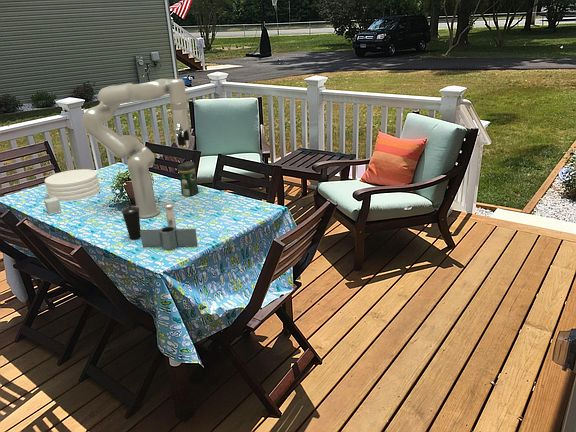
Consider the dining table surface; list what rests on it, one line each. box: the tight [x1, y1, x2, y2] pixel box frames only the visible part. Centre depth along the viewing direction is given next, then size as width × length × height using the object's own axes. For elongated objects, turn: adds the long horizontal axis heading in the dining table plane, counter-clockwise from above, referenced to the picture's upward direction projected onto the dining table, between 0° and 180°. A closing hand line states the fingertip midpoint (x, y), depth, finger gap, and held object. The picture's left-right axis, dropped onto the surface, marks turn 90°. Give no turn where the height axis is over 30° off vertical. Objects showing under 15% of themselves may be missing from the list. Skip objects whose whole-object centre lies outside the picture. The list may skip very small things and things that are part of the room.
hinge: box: [140, 225, 199, 251], centre depth 203 cm, size 24×7×8 cm, turn 87°
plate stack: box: [44, 168, 102, 201], centre depth 274 cm, size 28×28×12 cm
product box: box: [43, 197, 62, 215], centre depth 249 cm, size 6×6×7 cm
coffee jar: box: [177, 160, 199, 197], centre depth 265 cm, size 10×8×19 cm
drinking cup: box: [121, 195, 141, 241], centre depth 212 cm, size 8×8×20 cm
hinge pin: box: [162, 201, 177, 228], centre depth 213 cm, size 5×5×15 cm
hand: (184, 142), depth 226 cm, fingers open, 9 cm apart
